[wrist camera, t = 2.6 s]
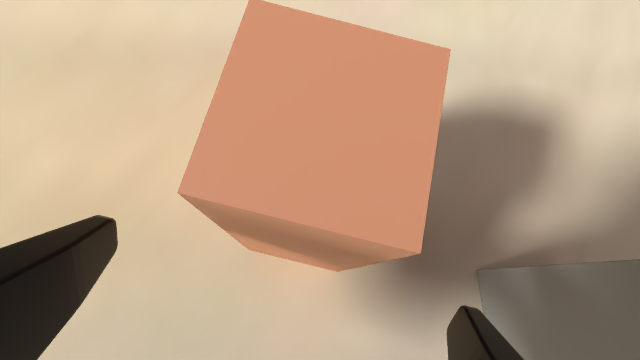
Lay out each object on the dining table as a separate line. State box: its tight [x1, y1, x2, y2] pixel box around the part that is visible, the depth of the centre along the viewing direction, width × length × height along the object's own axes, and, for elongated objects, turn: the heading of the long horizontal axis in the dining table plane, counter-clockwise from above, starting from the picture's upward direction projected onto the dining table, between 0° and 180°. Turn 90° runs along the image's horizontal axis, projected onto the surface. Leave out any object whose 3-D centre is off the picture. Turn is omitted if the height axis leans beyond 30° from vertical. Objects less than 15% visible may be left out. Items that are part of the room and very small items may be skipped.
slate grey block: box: [477, 260, 640, 360], centre depth 13 cm, size 5×5×12 cm
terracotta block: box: [178, 0, 451, 272], centre depth 14 cm, size 5×5×12 cm
